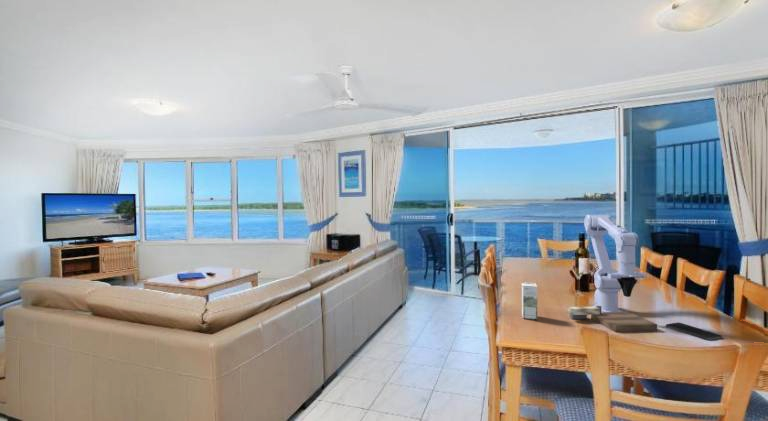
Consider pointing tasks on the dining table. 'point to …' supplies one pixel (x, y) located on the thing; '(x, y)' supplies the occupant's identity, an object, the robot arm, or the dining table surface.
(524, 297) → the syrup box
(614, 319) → the stool seat
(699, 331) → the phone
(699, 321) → the dining table surface
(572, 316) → the stop block
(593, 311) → the folding leg
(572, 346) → the dining table surface
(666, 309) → the dining table surface
